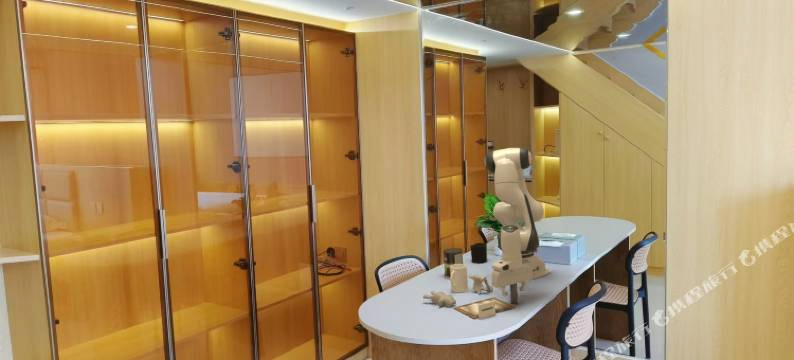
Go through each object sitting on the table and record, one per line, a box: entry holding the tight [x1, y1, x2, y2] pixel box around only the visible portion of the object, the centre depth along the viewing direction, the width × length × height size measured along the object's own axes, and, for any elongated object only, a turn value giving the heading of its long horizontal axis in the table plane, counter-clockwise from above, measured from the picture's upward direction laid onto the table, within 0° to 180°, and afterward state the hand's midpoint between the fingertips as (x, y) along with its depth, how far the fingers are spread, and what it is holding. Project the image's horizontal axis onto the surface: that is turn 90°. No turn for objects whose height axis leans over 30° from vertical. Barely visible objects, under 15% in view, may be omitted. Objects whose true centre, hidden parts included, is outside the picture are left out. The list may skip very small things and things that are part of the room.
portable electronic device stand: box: [468, 273, 494, 295], centre depth 261 cm, size 9×8×8 cm
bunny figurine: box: [422, 290, 457, 308], centre depth 248 cm, size 10×5×15 cm
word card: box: [478, 301, 496, 320], centre depth 228 cm, size 8×1×6 cm, turn 116°
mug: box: [449, 263, 469, 294], centre depth 264 cm, size 12×8×12 cm
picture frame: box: [453, 297, 517, 320], centre depth 238 cm, size 22×16×1 cm
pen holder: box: [469, 242, 488, 264], centre depth 314 cm, size 9×9×10 cm
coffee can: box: [442, 247, 464, 280], centre depth 289 cm, size 10×10×14 cm
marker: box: [509, 283, 519, 306], centre depth 241 cm, size 3×3×12 cm
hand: (513, 293), depth 241 cm, fingers open, 8 cm apart
